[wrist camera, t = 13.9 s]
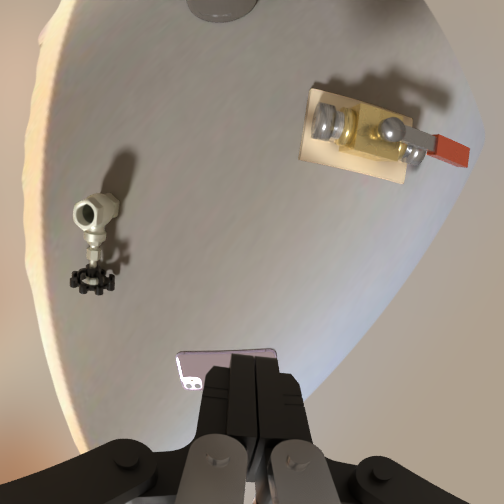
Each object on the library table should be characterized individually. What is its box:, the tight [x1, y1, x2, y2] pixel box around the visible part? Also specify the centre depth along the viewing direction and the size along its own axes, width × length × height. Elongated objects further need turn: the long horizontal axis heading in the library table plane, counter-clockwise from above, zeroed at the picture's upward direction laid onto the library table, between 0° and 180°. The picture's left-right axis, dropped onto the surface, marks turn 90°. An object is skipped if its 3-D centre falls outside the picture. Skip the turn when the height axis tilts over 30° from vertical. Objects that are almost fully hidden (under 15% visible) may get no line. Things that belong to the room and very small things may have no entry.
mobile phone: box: [176, 349, 276, 390], centre depth 44 cm, size 8×1×15 cm
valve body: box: [311, 102, 426, 166], centre depth 30 cm, size 5×13×8 cm, turn 81°
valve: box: [70, 193, 120, 295], centre depth 35 cm, size 7×7×12 cm
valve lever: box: [378, 117, 470, 168], centre depth 26 cm, size 11×2×2 cm, turn 81°
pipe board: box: [298, 88, 413, 184], centre depth 33 cm, size 9×14×4 cm, turn 81°
